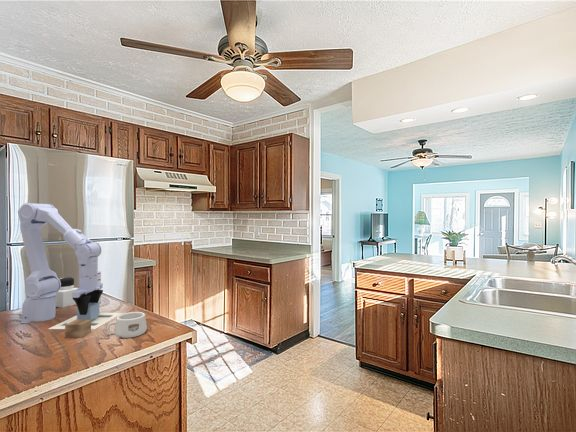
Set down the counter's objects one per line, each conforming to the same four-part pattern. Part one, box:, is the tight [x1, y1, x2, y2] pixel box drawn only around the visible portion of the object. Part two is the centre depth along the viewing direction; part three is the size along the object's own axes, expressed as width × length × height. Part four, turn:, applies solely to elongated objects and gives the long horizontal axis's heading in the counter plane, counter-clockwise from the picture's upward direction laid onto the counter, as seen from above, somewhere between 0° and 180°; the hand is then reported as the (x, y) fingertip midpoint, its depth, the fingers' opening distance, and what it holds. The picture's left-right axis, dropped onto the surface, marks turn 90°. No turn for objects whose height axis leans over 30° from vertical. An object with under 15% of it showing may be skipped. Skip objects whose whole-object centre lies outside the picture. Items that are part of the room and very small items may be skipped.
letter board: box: [48, 312, 123, 330], centre depth 114 cm, size 16×18×1 cm
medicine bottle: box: [56, 276, 79, 309], centre depth 136 cm, size 7×7×12 cm
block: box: [64, 319, 92, 339], centre depth 100 cm, size 5×5×5 cm
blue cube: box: [76, 303, 100, 320], centre depth 114 cm, size 5×5×5 cm
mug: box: [106, 311, 148, 339], centre depth 103 cm, size 12×10×6 cm
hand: (88, 312), depth 114 cm, fingers closed on blue cube, 5 cm apart
